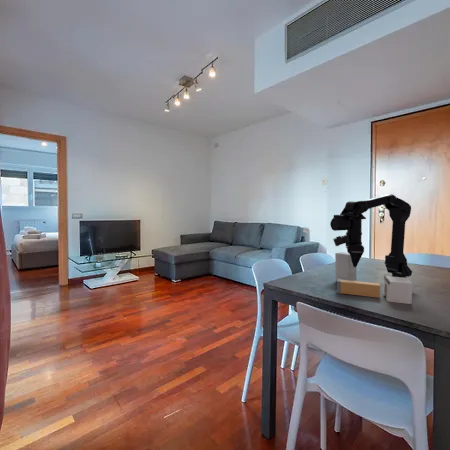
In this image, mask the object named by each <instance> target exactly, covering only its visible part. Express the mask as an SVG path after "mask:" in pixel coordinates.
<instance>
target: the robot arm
mask: <svg viewBox="0 0 450 450" xmlns="http://www.w3.org/2000/svg"><path fill="white" fill-rule="evenodd" d="M383 205H384V208H385V209H386V210H387V211H388V214H389V215H388V216H389V217H390V219H391V221H392V226H391V227H392V229H391V242H390V243H391V244H390V252H389V253H388V254H386V255H385V256H384V258H385V260H384V265H385V268H386V271H387V273H388V274H389V273H390V274H391V276H392V277H403V278H408V277H412V275H413V270H412V269H411V268H410V267H409V266H408V259H407V258H406V255H405V254H404V249H405V248H404V247H405V234H406V223H407V221H408V219H409V218H410V216H411V213H412V206H411V205H410V204H409V203H408V202H406V201H405V200H403V199H401V198H399V197H397V196H396V195H395V194H391V193H390V194H389V193H388V194H383V195H379V196H375V197H373V198H372V197H371V198H368V199H363V200H353V201H352V200H351V201H350V200H349V201H347V202H346V203H345V205H344V207H343V209H342V211H341V212H340V214H334V215H333V218H331V221H330V223H329V224H330V228H331V230H332V231H335V232H336V231H339V232H340V231H346V232H345V234H344V235H338V236H336V237H335V238H333V243H334V245H335V247H340V246H341V245H344V244H345V248H346V250H347V252H346V253H349V254H350V256H351V261H352V263H353V267H356V268H357V267H358V264H359V262H360V260H361V258H362V256H363V255H364V253H365V247H364V245H362V244H363V241H362V235H363V232H362V231H363V230H362V229H363V228H362V225H363V224H362V221H363V220H366V219H367V218H366V217H365V215H363V214H364V213H366V212H367V211H369V210H370V209H374V208H376V207H380V206H383Z"/></svg>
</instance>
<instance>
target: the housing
mask: <svg viewBox="0 0 450 450" xmlns="http://www.w3.org/2000/svg"><path fill="white" fill-rule="evenodd" d="M382 291H383V293H382V294H383V296H384V297H386V298H385V299H386V301H387V302H390V303H399V304H408V305H412V302H413V301H412V300H413V297H412V296H413V282H412V281H410V280H409V279H408V277H406V278H403V277H392V275H391V276H389V275H384V276H383V290H382Z"/></svg>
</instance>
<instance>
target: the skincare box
mask: <svg viewBox="0 0 450 450" xmlns="http://www.w3.org/2000/svg"><path fill="white" fill-rule="evenodd" d="M334 258H335V260H334V261H335V262H334V263H335V282H337V280H338V279H341V280H350V281H357V266H356V267H353V263H352V261H351V256H350V254H349V253H348V252H343V251H341V252H336V253H335V254H334Z"/></svg>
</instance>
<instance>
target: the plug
mask: <svg viewBox="0 0 450 450" xmlns="http://www.w3.org/2000/svg"><path fill="white" fill-rule="evenodd" d="M336 283H337V285H336V286H337V287H336V289H337V291H336V293H337V294H338V295H339V294H346V295H353V296H361V297H362V296H363V297H371V298H381V284H380V283H379V282H372V281H371V282H370V281H358V280H356V281H350V280H341V279H338V280H337V281H336Z"/></svg>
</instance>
